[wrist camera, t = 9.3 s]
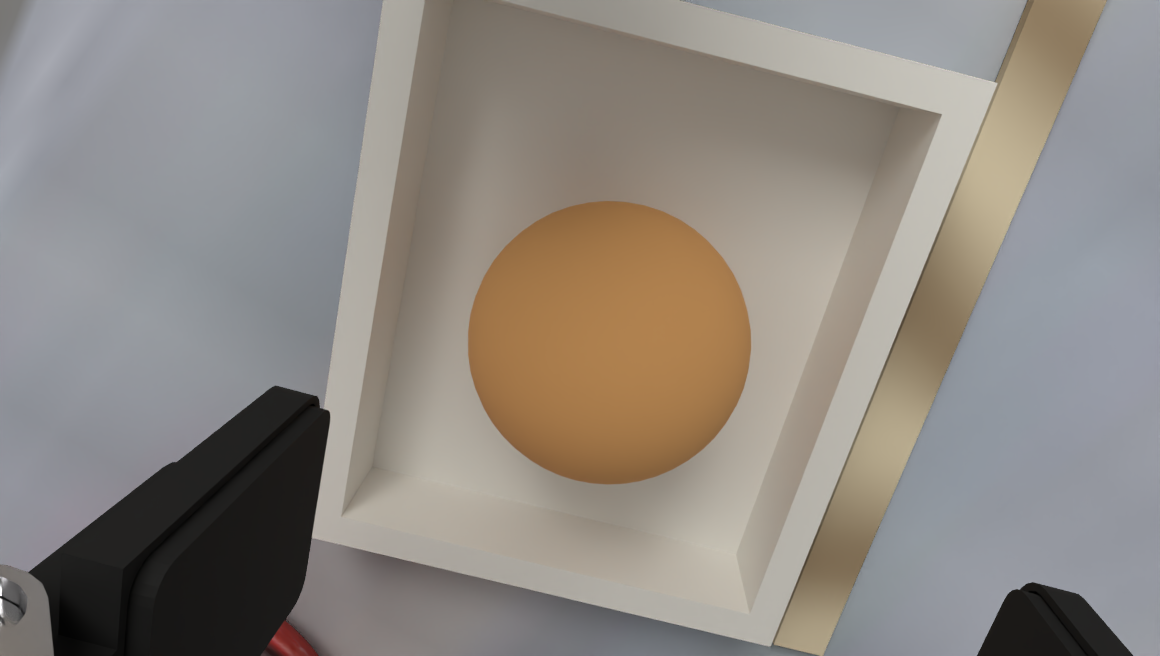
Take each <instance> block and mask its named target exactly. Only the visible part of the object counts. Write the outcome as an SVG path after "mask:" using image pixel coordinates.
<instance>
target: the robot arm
mask: <svg viewBox="0 0 1160 656" xmlns="http://www.w3.org/2000/svg"><path fill="white" fill-rule="evenodd" d="M319 407H320V405H319V399H318V397H317V396H313V395H310V394H306V393H302V392H298V391H294V390H290V389H287V388H283V387H279V386H274V387H272V388H270V389H269V390H268V391H266V392H265V393H264V394H263V395H261V396H260V397H259V398H258V399H256V400H255V401H254V402H252V403H251V404H250V405H249V406H247V407H246V408H245V409H244V410H242V411H241V412H240V413H239V414H237V415H236V416H235V417H233V418H232V419H231V420H230V421H228V422H227V423H226V424H225V425H223V426H222V427H221V428H220V429H218V430H217V431H216V432H214V433H213V434H212V435H211V436H209V437H208V438H207V439H206V440H204V441H203V442H202V443H201V444H199V445H198V446H197V447H195V448H194V449H193V450H192V451H190V452H189V453H188V454H187V455H185V456H184V457H183V458H181V459H180V460H179V461H178V462H172V463H170V464H168V465H167V466H165V467H163V468H162V469H160V470H159V471H158V472H157V473H155V474H154V475H153V476H151V477H150V478H149V479H148V480H146V481H145V482H144V483H142V484H141V485H140V486H139V487H137V488H136V489H135V490H133V491H132V492H131V493H130V494H128V495H127V496H126V497H124V498H123V499H122V500H121V501H119V502H118V503H117V504H115V505H114V506H113V507H112V508H110V509H109V510H108V511H106V512H105V513H104V514H103V515H101V516H100V517H99V518H97V519H96V520H95V521H94V522H92V523H91V524H90V525H88V526H87V527H86V528H85V529H83V530H82V531H81V532H79V533H78V534H77V535H76V536H74V537H73V538H72V539H70V540H69V541H68V542H67V543H65V544H64V545H63V546H61V547H60V548H59V549H58V550H56V551H55V552H54V553H52V554H51V555H50V556H49V557H47V558H46V559H45V560H43V561H42V562H41V563H40V564H38V565H37V566H36V567H34V568H33V569H32V570H31V571H29V572H26V571H23V570H20V569H17V568H14V567H11V566H8V565H0V656H261V654H262V653H263V651H264V650H265V648H266V647H267V646H268V644H269V643H270V641H271V640H272V638H273V637H274V635H275V634H276V632H277V631H278V629H279V628H280V626H281V625H282V624H283V622H284V621H285V619H286V618H287V616H288V615H289V613H290V612H291V610H292V609H293V607H294V606H295V604H296V602H297V600H298V598H299V596H300V593H301V591H302V588H303V585H304V581H305V576H306V570H307V564H308V558H309V551H310V545H311V539H312V533H313V526H314V520H315V514H316V507H317V501H318V495H319V489H320V482H321V476H322V470H323V463H324V457H325V451H326V445H327V438H328V432H329V426H330V412H329V410H325V409H321V408H319ZM977 656H1133V655H1132V654H1131V652H1130V651H1129V650H1128V649H1127V648H1126V647H1125V646H1124V644H1123V643H1122V642H1121V641H1120V640H1119V639H1118V637H1117V636H1116V635H1115V634H1114V633H1113V632H1112V631H1111V629H1110V628H1109V627H1108V626H1107V625H1106V624H1105V622H1104V621H1103V620H1102V619H1101V618H1100V617H1099V616H1098V614H1097V613H1096V612H1095V611H1094V610H1093V609H1092V607H1091V606H1090V605H1089V604H1088V603H1087V602H1086V601H1085V599H1084V598H1082V597H1081V596H1080V595H1079V594H1076V593H1072V592H1068V591H1064V590H1060V589H1057V588H1053V587H1049V586H1045V585H1041V584H1037V583H1033V582H1032V583H1028V584H1026V585H1025V586H1023V587H1022V588H1021V589H1020V590H1018V589H1016V590H1012V591H1011V592H1010V593H1009V594H1008V595H1007V596H1006V598H1005V600H1004V602H1003V604H1002V606H1001V608H1000V610H999V612H998V614H997V616H996V618H995V620H994V622H993V624H992V626H991V628H990V630H989V632H988V634H987V636H986V639H985V641H984V643H983V645H982V647H981V649H980V651H979V653H978V655H977Z"/></svg>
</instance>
